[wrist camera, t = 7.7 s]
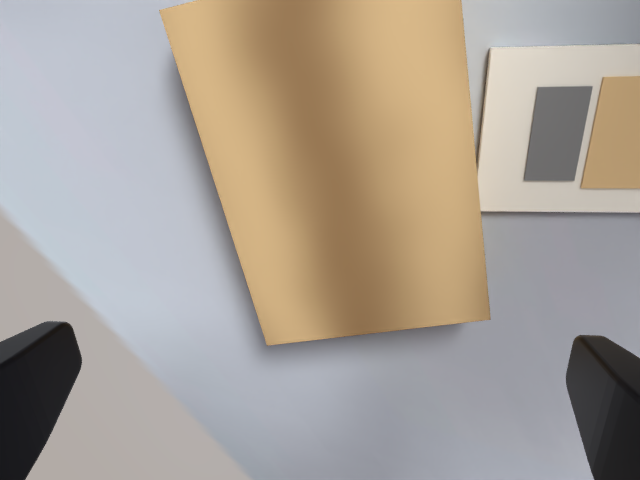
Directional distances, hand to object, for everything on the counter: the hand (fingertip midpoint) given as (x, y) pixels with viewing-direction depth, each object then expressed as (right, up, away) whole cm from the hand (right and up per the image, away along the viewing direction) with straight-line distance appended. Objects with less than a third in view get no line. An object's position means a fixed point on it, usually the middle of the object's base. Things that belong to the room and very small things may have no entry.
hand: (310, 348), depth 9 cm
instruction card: (+10, +6, +9) cm, 15 cm away
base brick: (+1, +5, +11) cm, 12 cm away
